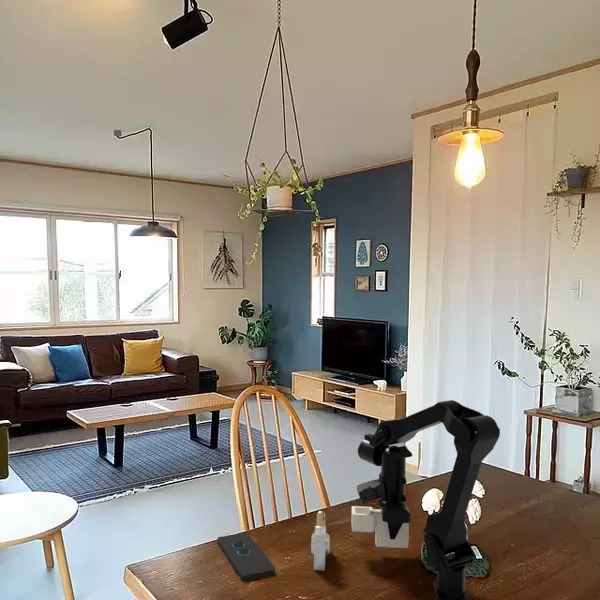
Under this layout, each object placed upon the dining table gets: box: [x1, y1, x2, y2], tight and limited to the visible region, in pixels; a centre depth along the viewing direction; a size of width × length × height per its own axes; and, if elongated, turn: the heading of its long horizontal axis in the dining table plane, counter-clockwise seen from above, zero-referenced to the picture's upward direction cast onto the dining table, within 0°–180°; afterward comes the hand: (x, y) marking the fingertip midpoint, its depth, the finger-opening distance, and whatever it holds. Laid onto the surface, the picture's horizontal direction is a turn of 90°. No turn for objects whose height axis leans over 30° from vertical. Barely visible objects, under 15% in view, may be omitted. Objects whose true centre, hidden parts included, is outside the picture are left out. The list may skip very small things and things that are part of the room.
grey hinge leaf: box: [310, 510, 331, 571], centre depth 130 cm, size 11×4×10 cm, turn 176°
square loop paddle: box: [351, 505, 410, 549], centre depth 132 cm, size 5×13×8 cm, turn 86°
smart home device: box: [216, 532, 276, 582], centre depth 130 cm, size 8×2×20 cm
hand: (391, 536), depth 132 cm, fingers closed on square loop paddle, 2 cm apart
